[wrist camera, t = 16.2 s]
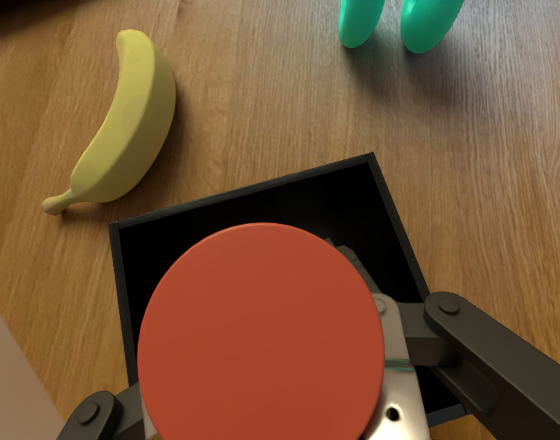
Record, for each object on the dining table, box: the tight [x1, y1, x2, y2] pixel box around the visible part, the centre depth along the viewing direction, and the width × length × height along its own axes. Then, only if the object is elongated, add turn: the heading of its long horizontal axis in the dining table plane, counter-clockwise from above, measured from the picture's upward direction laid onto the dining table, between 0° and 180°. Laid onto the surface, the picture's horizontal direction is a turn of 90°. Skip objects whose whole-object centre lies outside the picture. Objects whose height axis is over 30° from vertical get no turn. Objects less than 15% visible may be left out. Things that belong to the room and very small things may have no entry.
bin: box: [108, 152, 472, 428], centre depth 20 cm, size 17×15×10 cm
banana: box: [42, 29, 176, 216], centre depth 27 cm, size 14×6×20 cm
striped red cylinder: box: [137, 223, 385, 440], centre depth 11 cm, size 5×5×12 cm
